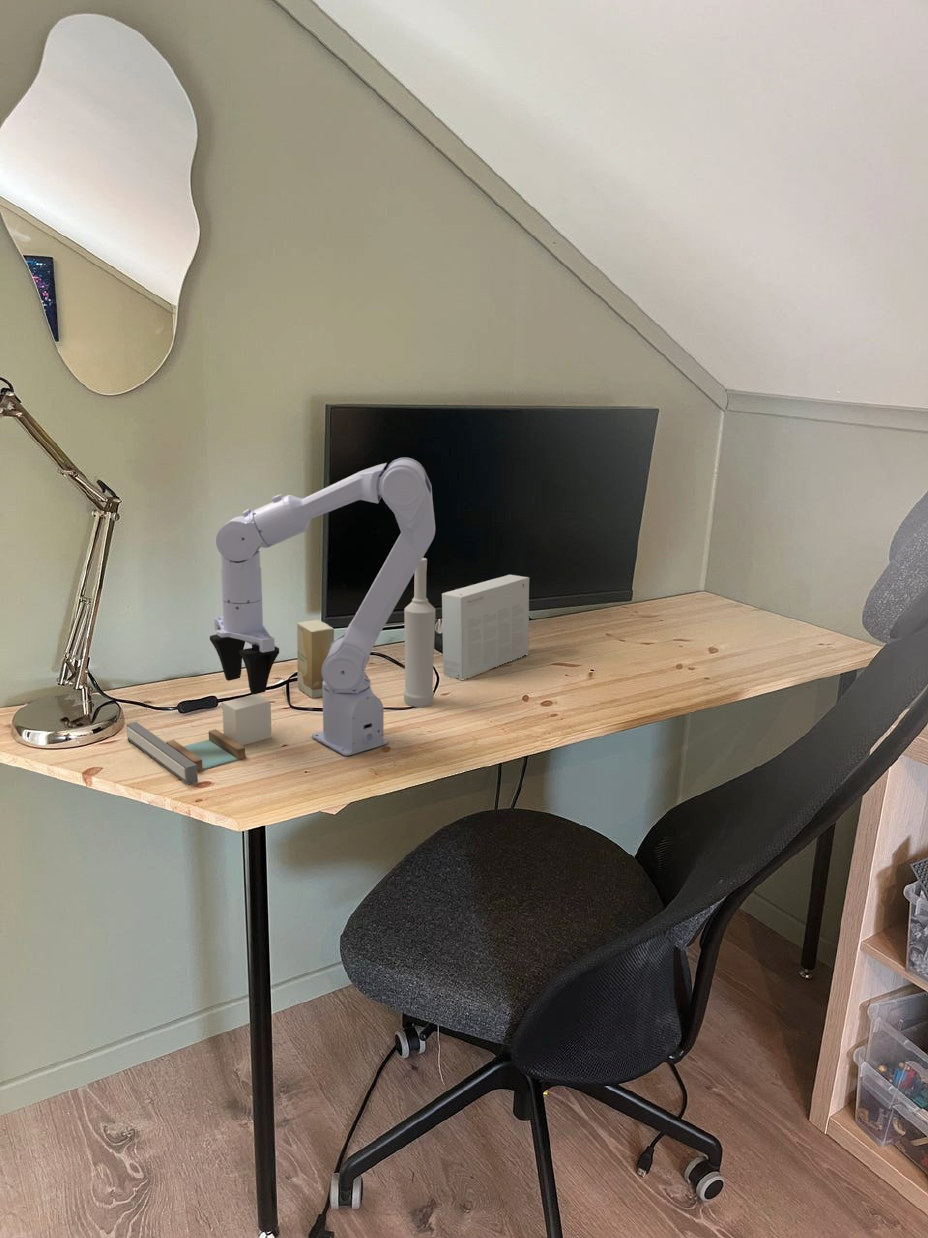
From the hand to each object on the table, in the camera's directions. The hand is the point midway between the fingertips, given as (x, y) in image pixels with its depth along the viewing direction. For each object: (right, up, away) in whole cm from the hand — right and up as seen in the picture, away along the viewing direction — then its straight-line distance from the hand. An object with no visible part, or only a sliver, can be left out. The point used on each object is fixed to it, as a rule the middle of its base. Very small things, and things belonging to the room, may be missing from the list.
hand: (245, 685), depth 146 cm
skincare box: (+7, -3, +23) cm, 24 cm away
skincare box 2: (+37, +1, +40) cm, 54 cm away
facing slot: (-5, -10, -4) cm, 12 cm away
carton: (0, -8, +2) cm, 9 cm away
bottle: (+25, -4, +19) cm, 32 cm away
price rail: (-11, -10, -6) cm, 16 cm away
